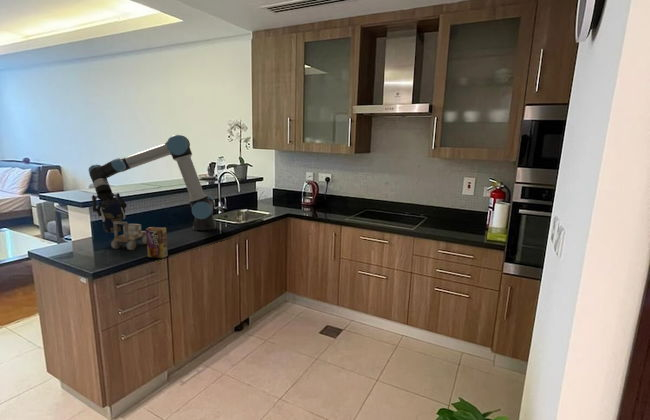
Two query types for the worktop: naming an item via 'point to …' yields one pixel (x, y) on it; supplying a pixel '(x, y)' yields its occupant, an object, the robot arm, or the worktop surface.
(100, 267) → the worktop surface
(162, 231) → the candy box
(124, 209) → the robot arm
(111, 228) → the canister
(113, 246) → the wooden toy truck
